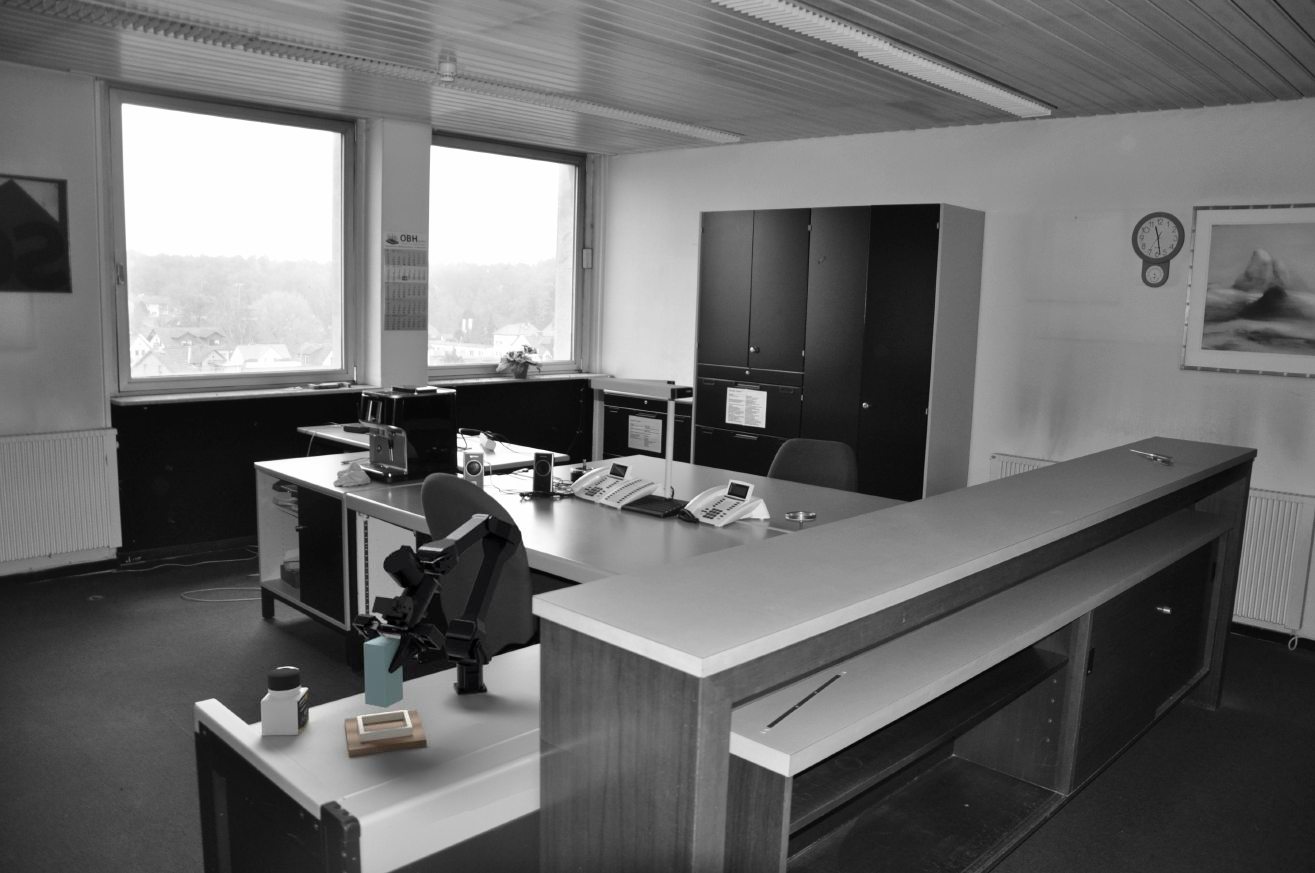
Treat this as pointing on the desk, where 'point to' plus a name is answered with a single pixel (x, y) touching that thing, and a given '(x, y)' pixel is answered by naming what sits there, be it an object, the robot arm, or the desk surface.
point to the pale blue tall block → (382, 672)
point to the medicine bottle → (284, 703)
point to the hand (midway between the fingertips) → (378, 670)
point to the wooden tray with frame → (384, 732)
